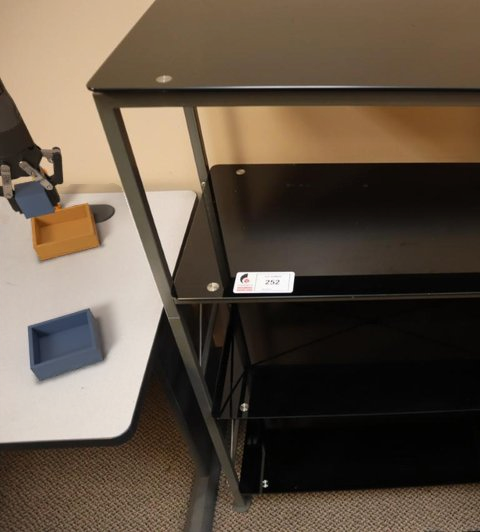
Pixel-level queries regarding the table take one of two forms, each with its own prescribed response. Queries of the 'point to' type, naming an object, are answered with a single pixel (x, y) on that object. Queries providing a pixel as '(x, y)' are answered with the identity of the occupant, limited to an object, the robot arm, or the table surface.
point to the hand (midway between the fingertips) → (39, 207)
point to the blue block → (33, 199)
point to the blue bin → (64, 344)
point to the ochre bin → (64, 232)
